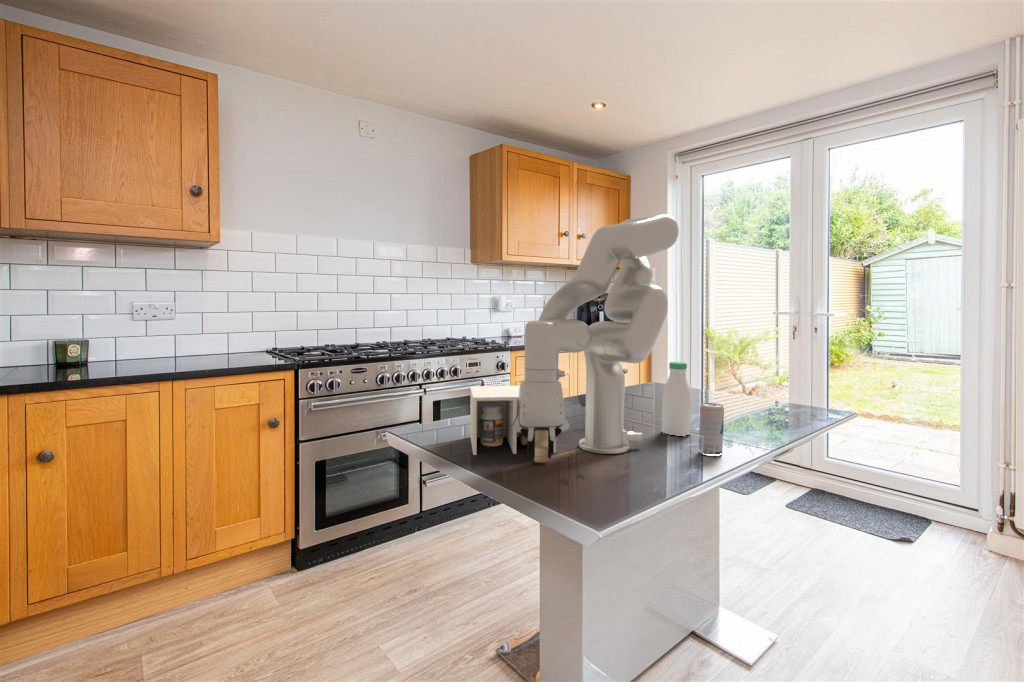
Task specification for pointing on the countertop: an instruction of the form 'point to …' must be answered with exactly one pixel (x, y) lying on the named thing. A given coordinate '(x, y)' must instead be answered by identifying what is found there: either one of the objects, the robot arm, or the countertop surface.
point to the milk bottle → (677, 401)
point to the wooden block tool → (538, 443)
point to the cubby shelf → (509, 409)
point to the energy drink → (711, 428)
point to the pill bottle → (491, 425)
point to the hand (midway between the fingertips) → (540, 456)
